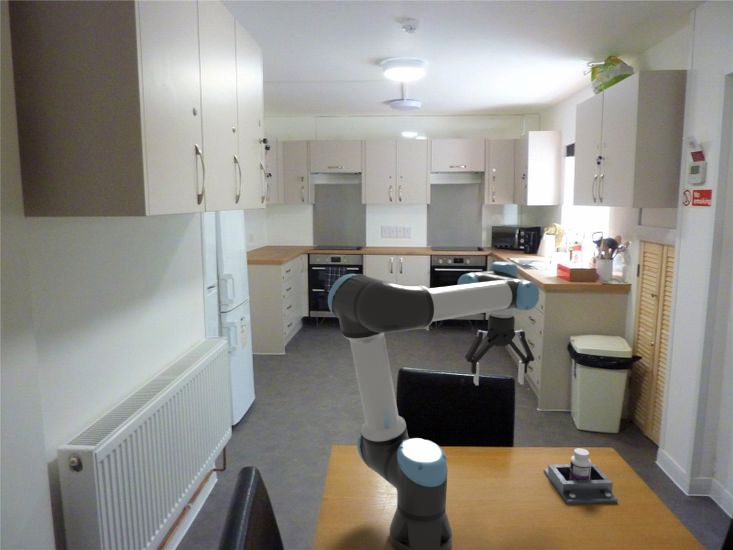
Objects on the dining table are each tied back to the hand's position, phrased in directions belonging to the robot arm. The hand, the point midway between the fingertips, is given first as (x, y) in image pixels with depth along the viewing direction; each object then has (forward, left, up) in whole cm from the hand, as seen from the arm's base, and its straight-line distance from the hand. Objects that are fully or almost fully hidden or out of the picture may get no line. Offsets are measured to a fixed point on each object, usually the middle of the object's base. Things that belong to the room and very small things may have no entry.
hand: (498, 383), depth 150 cm
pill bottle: (-12, -21, -26) cm, 35 cm away
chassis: (-12, -21, -27) cm, 36 cm away
